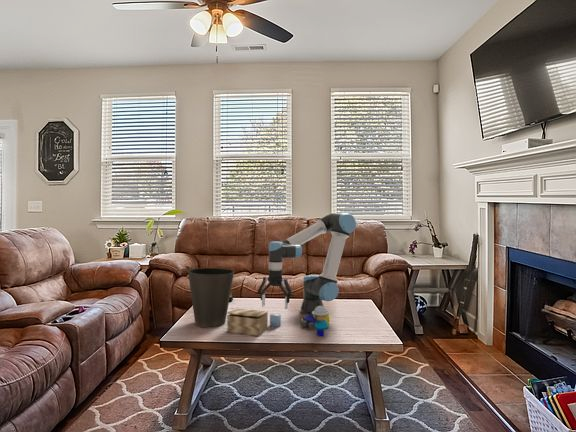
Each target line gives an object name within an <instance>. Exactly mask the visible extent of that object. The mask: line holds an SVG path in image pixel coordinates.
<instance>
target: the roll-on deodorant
mask: <svg viewBox="0 0 576 432" xmlns="http://www.w3.org/2000/svg"><path fill="white" fill-rule="evenodd" d="M281 316H282V315H281V314H280V313H270V315H269V327H271V328H280V327H282V326H281V325H282V320H281V319H282V317H281Z"/></svg>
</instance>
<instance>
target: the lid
mask: <svg viewBox="0 0 576 432" xmlns="http://www.w3.org/2000/svg"><path fill="white" fill-rule="evenodd" d="M266 313H268V311H266V310H255V309H247V308H246V309H245V308H238V307H237V308H235V309H233V310H229V311H227V315H230V314H236V315H245V316H255V317H260V316H262V315H264V314H266Z"/></svg>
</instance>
